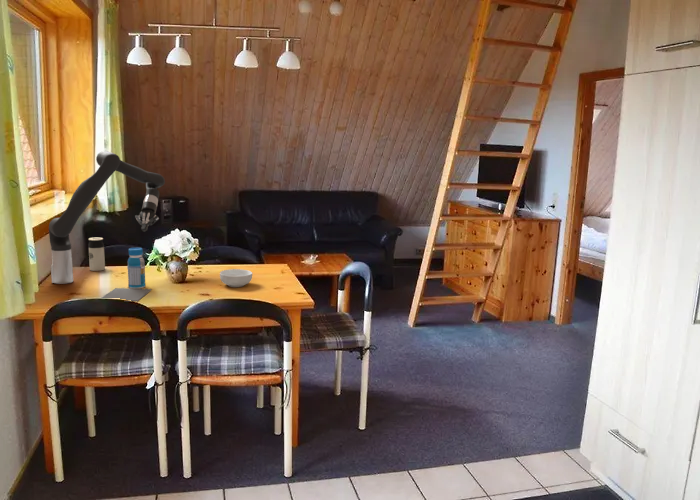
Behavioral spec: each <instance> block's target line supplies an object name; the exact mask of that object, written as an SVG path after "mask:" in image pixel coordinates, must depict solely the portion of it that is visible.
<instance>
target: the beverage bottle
mask: <svg viewBox="0 0 700 500" xmlns="http://www.w3.org/2000/svg"><path fill="white" fill-rule="evenodd" d="M127 250H128V256H129V257H128V259H127V262H126V263H127V278H128V279H127V280H128V288H131V289H145V287H146V265H145V262H146V261H145V259H144V257H143V255H144V252H143V250H144V249H143V248H142V247H130V248H128V249H127Z"/></svg>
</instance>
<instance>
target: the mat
mask: <svg viewBox="0 0 700 500" xmlns="http://www.w3.org/2000/svg"><path fill="white" fill-rule="evenodd" d="M151 291H152V289H151V288H139V289H132V288H129V287H127V288H125V287H115V288H114V289H111V290H110V291H109V292H107V293H106V294H104V295H103V296H101V298H120V299H126V300H131V301H137V302H139V301H140V300H142V298H144V297H146V295H147V294H149V293H150V292H151ZM131 301H130V302H131Z"/></svg>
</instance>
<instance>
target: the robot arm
mask: <svg viewBox="0 0 700 500" xmlns="http://www.w3.org/2000/svg"><path fill="white" fill-rule="evenodd" d="M95 157H96V160H95V161H96V163H97V165H98V166H99V167H98V168H97V170H96V171H95V172H94V173H93V174H92V175H91V176H89V177H88V178H86V179H85V180H83V181H82V182H81V183H80V184H79V186H78V187H77V188H76V189H75V191H74V192H73V193H72V196H71V197H70V201H69V202H68V206H67V207H66V209H65V210H64V212H63V213H62V214H61V216H60V217H54V218H53V219H52V220H50V222H49V225H48V235H49V243H50V247H51V259H52V260H51V261H52V264H51V265H50V273H51V275H50V276H51V283H52V284H53V283H54V284H57V285H60V284H61V285H62V284H63V285H65V284H71V283H73V282H74V269H73V256H72V243H71V239H70V233H72V230H73V229H74V228H75V225H77V224H76V223H77V222H78V220H79V218H80V217H81V216H82V214H84V212H85V211H86V210H87V208H88V207H89V206H90V204H91V203H92V201H94V199H95V197H96V196H97V194H98V193H99V192H100V190H101V189H102V188H103V187H104V186H105V183H106V182H107V181H108V179H110V177H112V176H113V174H114V173H115V172H118V173H120V174H123V175H124V176H126V177H128V178H130V179H133V180H134V181H136V182H139V183H141V184H145V189H146V190H145V191H146V193H145V196H144V199H143V203H142V207H141V211H140V212H139V214H138V215H137V214H136V215H134V218H135V219H136V221H137V222H138V224H139V226H141V228H140V229H141V231H142V232H146V231H148V227H149V226H153V225H154V224H155V223H156V222H158V221H159V219H160V218H159V215H156V212H157V209H158V206H159V205H158V203H159V198H160V191H159V188H161V187H163V186H164V185H165V184H166V181H165V179H166V178H165V177H164V176H163V175H162V174H160V173H156V172H151V171H147V170H145V169H143V168H141V167H139V166H136V165H133V164H130V163H128V162H125V161H123V160H121V158H120V156H119V155H117V154H116V153H114V152H111V151H107V150H103V151H100V152H99V153H97V155H96V156H95Z"/></svg>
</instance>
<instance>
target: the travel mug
mask: <svg viewBox="0 0 700 500" xmlns="http://www.w3.org/2000/svg"><path fill="white" fill-rule="evenodd" d="M88 241H89V242H88V244H87V245H88V256H89V257H88V258H89V259H88V261H89V270H90V271H93V272H100V271H104V270H105V269H106V261H105V244H104V242H103V241H104V238H103V237H89V238H88Z"/></svg>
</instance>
